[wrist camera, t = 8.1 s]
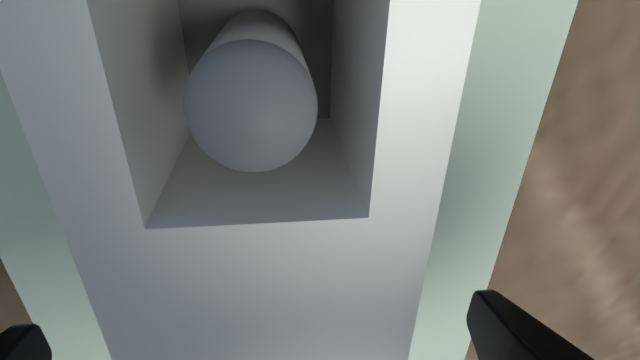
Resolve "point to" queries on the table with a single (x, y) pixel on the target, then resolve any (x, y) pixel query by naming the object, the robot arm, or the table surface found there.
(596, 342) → the table surface
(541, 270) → the table surface
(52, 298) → the post board
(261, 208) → the power strip bar
